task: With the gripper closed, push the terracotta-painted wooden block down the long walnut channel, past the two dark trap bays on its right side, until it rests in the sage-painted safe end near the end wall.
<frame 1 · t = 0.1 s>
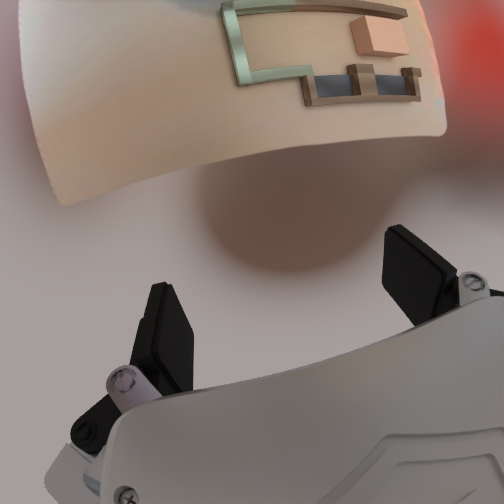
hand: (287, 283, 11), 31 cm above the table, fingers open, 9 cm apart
block: (371, 40, 31), resting in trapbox
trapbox: (328, 37, 30), on the table
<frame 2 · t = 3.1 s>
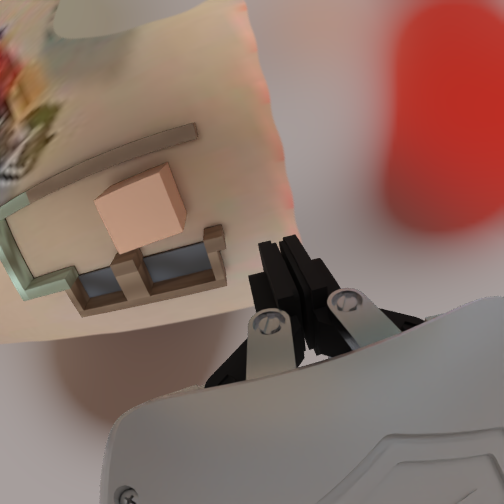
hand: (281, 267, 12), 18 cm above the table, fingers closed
block: (147, 199, 28), resting in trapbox
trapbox: (87, 220, 27), on the table
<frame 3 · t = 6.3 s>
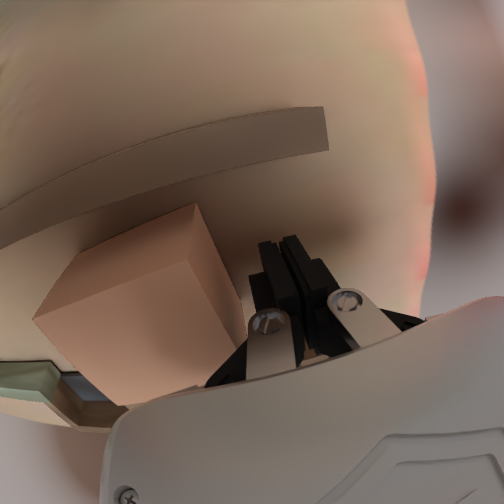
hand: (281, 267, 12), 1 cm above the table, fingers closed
block: (156, 280, 13), resting in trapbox
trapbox: (57, 302, 13), on the table
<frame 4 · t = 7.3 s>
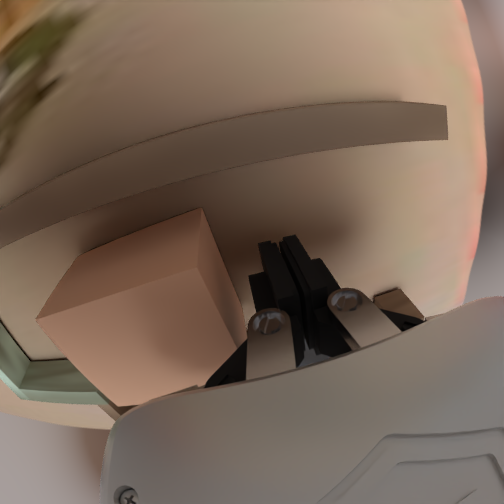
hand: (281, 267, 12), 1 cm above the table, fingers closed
block: (159, 283, 13), resting in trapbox, touching gripper
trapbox: (137, 283, 13), on the table
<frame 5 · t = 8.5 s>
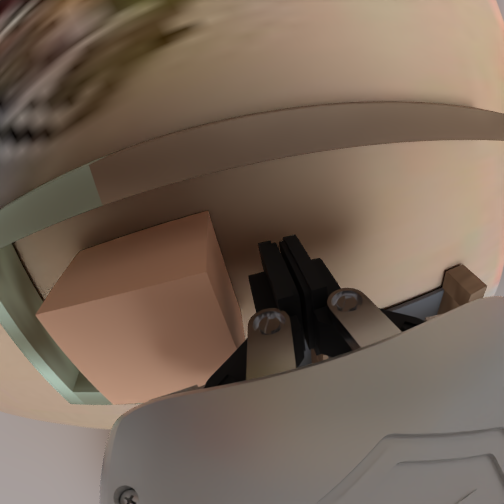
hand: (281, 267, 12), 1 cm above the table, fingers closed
block: (159, 283, 13), resting in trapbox, touching gripper
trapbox: (260, 254, 13), on the table
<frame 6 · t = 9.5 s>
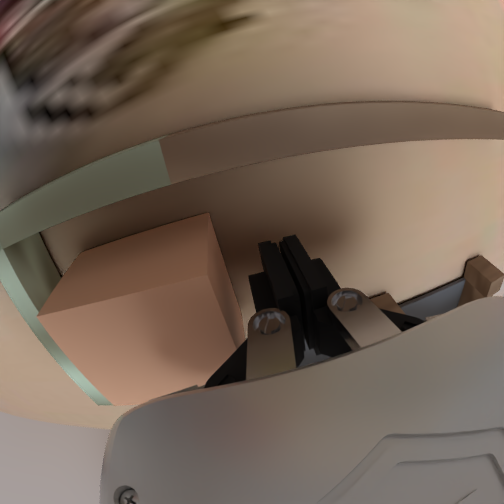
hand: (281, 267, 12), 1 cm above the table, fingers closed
block: (160, 285, 13), resting in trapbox, touching gripper
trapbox: (310, 242, 13), on the table
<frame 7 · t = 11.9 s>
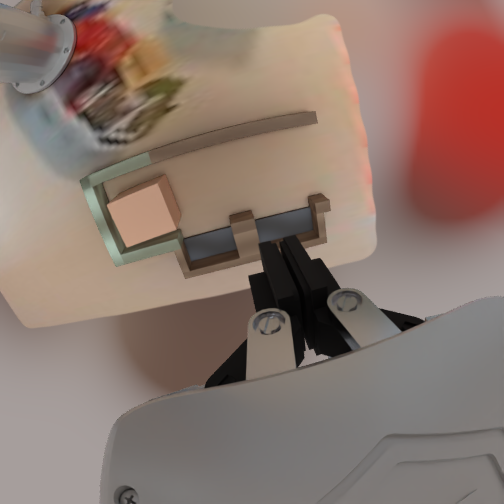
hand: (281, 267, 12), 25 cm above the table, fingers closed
block: (149, 203, 35), resting in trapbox
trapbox: (204, 184, 34), on the table
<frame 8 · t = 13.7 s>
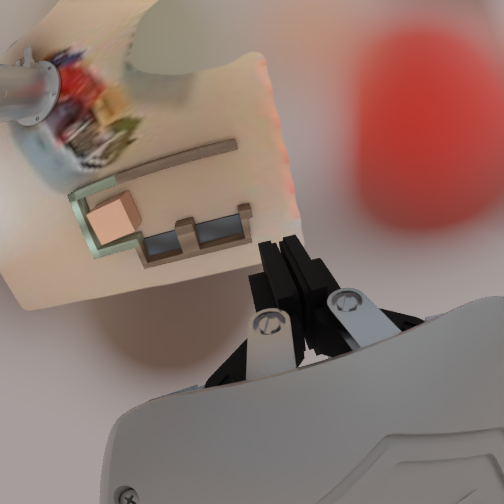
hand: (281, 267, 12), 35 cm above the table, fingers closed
block: (118, 212, 45), resting in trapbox
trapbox: (157, 198, 45), on the table
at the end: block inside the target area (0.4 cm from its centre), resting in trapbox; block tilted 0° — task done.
